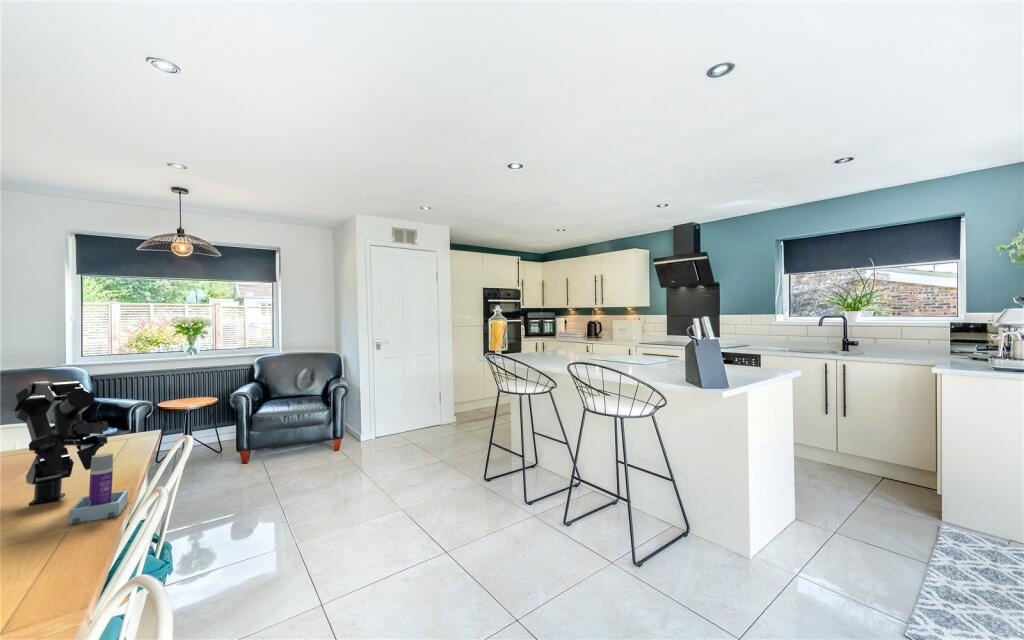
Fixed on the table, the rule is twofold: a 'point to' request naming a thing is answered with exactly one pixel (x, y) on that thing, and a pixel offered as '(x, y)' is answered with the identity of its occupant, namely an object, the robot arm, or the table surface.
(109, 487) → the container
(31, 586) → the table surface
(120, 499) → the cart
